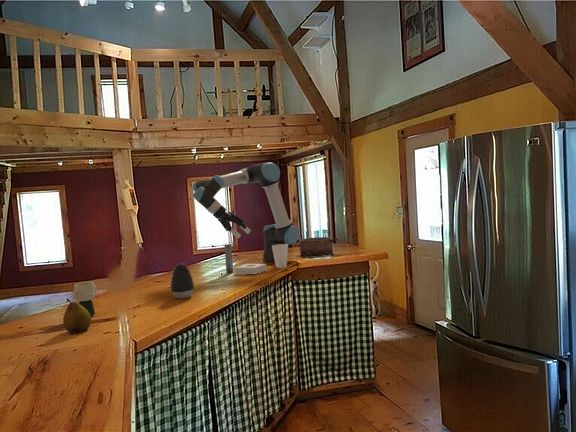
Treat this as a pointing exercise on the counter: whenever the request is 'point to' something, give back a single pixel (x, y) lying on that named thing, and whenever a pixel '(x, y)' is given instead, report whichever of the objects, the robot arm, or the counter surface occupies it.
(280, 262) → the foam cup
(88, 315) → the fruit
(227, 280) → the counter surface
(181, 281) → the black egg shape
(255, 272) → the socket block
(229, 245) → the peg
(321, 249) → the cooking pot
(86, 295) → the white and green lamp
